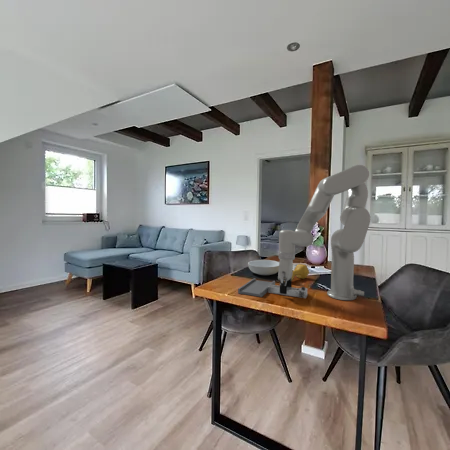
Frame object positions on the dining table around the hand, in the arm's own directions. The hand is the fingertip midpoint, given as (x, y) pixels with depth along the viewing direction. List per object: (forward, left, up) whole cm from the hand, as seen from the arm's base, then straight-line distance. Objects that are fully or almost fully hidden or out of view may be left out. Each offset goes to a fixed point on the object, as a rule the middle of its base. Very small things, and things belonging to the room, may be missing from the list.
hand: (285, 290), depth 124 cm
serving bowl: (+22, -33, -2) cm, 40 cm away
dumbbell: (+2, -27, -2) cm, 27 cm away
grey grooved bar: (0, 0, -2) cm, 2 cm away
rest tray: (+15, -1, -2) cm, 15 cm away
